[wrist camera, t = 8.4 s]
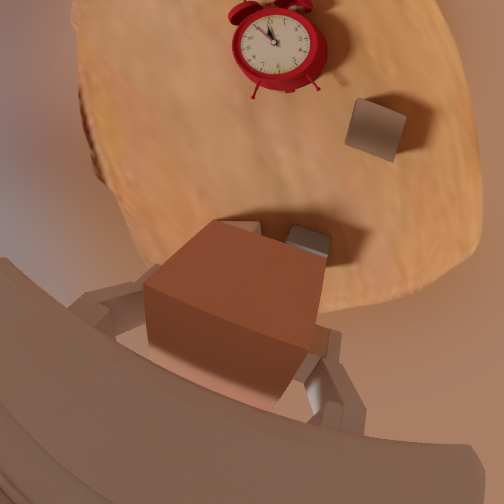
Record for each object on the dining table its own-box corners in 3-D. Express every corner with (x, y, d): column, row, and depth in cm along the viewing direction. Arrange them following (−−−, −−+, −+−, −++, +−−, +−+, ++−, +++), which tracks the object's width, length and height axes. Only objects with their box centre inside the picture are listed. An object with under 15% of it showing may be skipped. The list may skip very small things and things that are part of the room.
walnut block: (355, 101, 25) (358, 97, 21) (397, 116, 24) (407, 116, 20) (344, 140, 28) (345, 144, 24) (385, 155, 27) (392, 162, 23)
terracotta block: (213, 219, 12) (142, 283, 7) (326, 257, 11) (309, 349, 7) (202, 303, 14) (152, 372, 10) (291, 337, 13) (264, 420, 9)
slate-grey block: (293, 223, 35) (286, 240, 30) (330, 236, 34) (328, 255, 30) (283, 255, 37) (275, 275, 33) (318, 268, 36) (313, 289, 32)
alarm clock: (237, 105, 26) (203, -12, 17) (252, 96, 31) (224, -3, 22) (335, 92, 23) (302, -36, 14) (334, 86, 27) (307, -21, 18)
